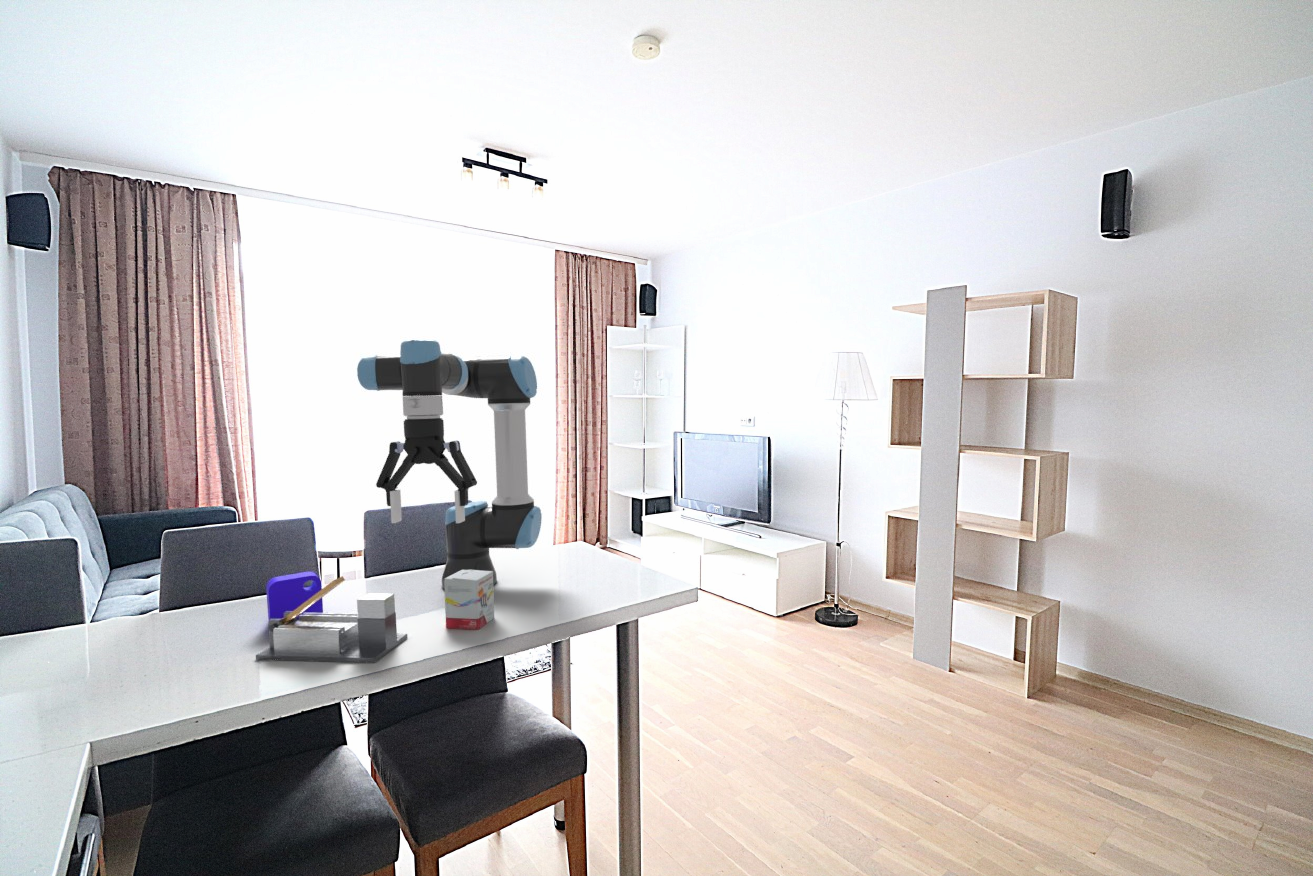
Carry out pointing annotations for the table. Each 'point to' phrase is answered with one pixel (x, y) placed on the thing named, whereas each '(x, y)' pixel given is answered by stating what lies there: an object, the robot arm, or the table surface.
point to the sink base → (359, 652)
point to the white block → (376, 606)
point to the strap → (311, 601)
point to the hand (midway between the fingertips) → (428, 522)
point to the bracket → (292, 594)
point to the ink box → (469, 599)
